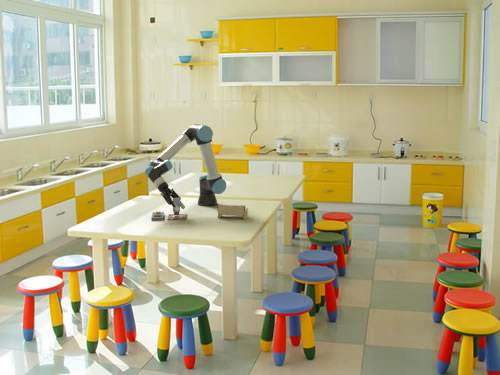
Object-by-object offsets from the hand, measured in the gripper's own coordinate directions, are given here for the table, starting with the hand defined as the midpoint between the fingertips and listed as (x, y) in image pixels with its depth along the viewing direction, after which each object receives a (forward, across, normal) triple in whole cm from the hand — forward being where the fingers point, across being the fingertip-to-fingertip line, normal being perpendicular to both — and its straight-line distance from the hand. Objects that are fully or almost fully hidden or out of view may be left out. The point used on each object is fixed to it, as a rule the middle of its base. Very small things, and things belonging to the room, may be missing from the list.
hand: (181, 209), depth 454 cm
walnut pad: (+2, 0, -7) cm, 8 cm away
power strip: (-6, +6, -16) cm, 18 cm away
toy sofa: (+27, -18, +17) cm, 37 cm away
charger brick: (0, 0, -6) cm, 6 cm away
